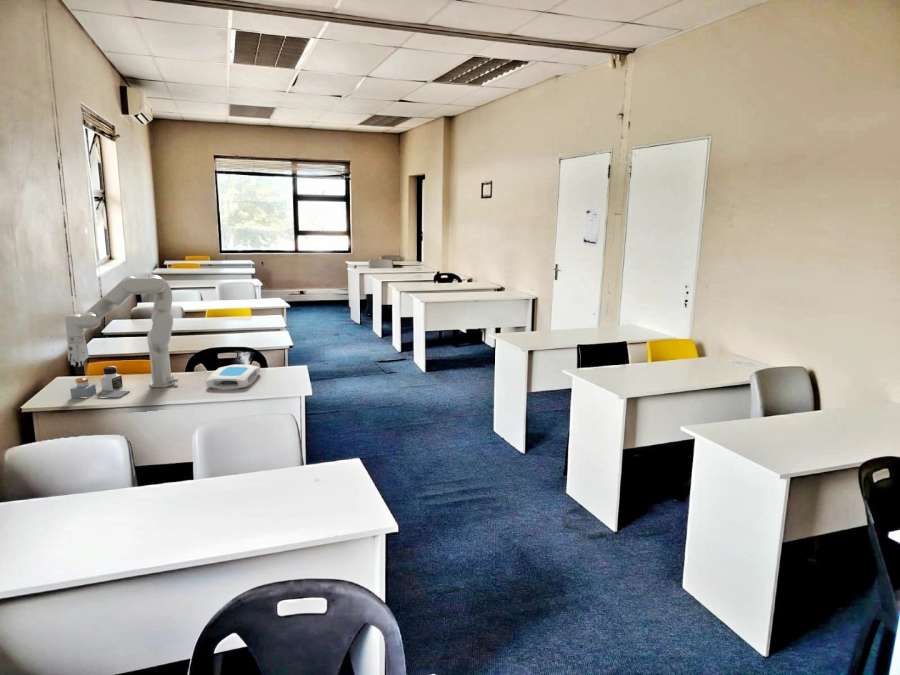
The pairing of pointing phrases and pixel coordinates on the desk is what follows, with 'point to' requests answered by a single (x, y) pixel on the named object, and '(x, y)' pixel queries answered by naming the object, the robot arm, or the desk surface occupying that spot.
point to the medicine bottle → (111, 379)
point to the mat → (114, 394)
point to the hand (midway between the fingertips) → (79, 373)
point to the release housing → (83, 391)
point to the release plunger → (82, 382)
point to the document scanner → (233, 376)
